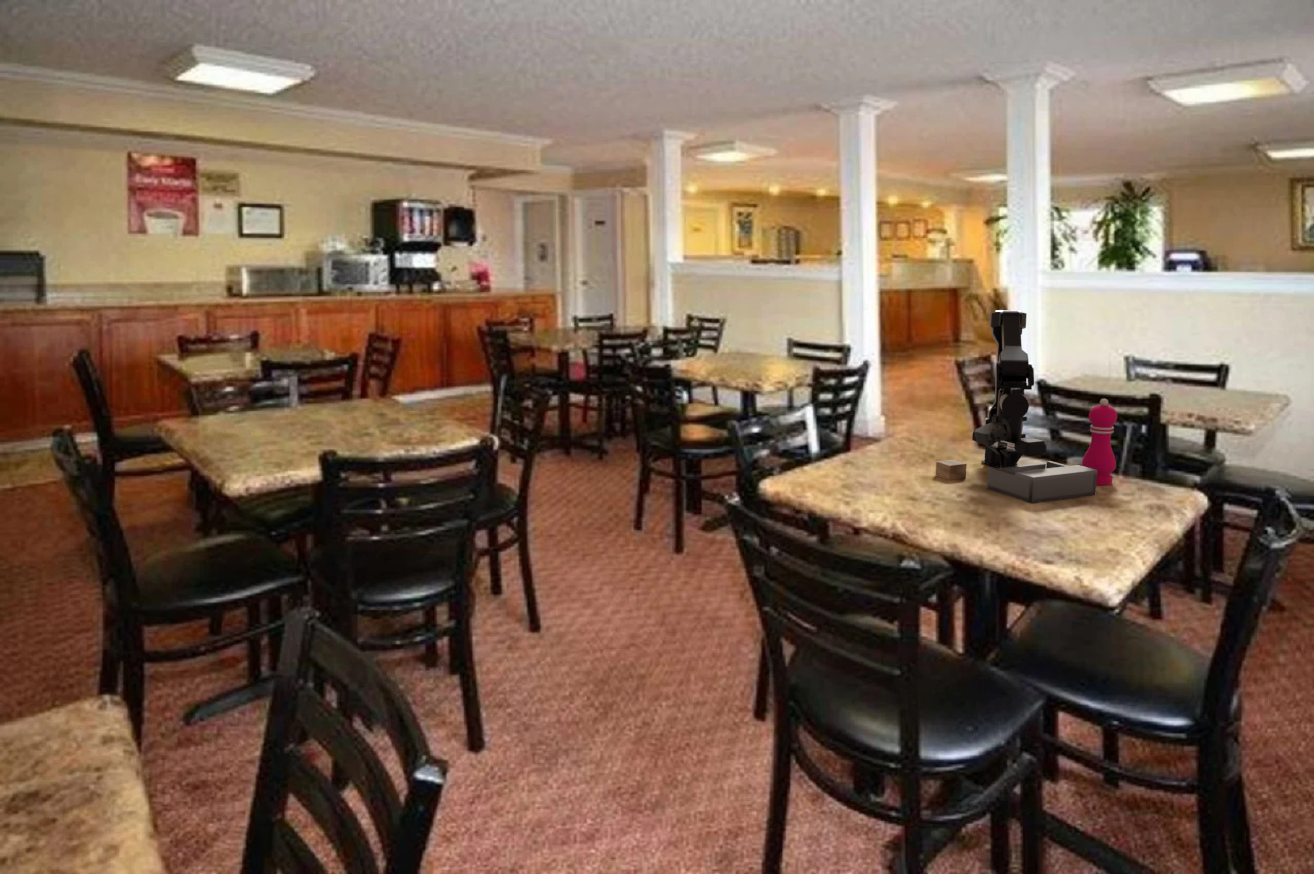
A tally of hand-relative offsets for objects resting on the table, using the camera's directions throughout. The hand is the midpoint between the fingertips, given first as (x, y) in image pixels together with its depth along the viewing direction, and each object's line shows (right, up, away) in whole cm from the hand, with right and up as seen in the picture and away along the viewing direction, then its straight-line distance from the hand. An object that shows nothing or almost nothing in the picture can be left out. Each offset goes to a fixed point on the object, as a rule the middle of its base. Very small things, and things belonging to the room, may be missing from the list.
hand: (1005, 476), depth 218 cm
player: (+5, -3, -9) cm, 10 cm away
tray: (+4, -2, -8) cm, 9 cm away
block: (-11, 0, +6) cm, 13 cm away
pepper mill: (+22, -2, 0) cm, 22 cm away
